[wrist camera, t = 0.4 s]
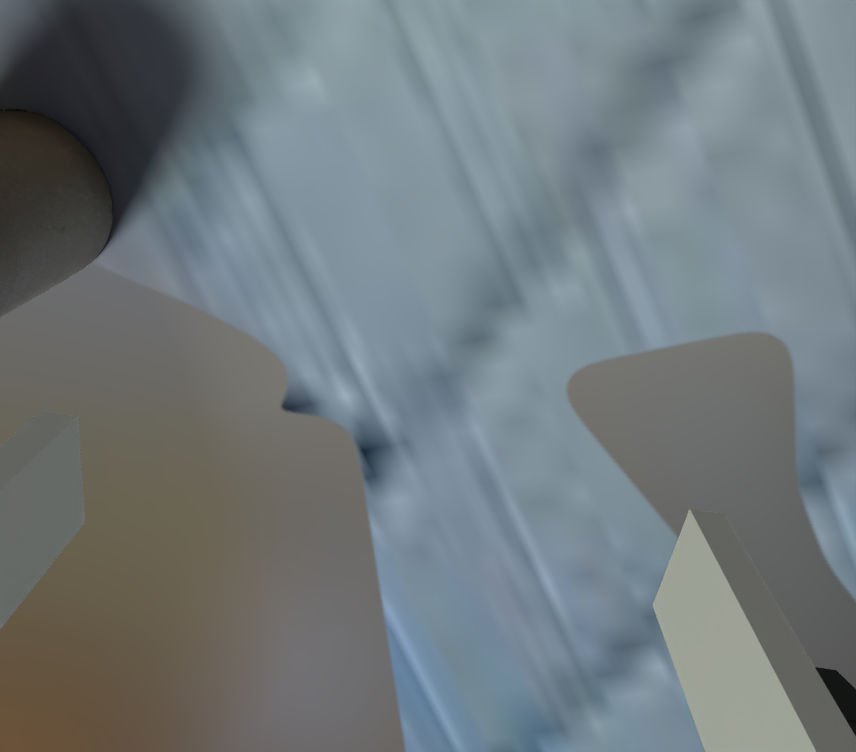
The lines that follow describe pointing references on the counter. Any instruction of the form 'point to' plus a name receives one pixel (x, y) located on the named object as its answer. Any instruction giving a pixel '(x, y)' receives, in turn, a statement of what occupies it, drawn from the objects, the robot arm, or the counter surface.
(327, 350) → the counter surface
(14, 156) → the pillar candle
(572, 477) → the counter surface
